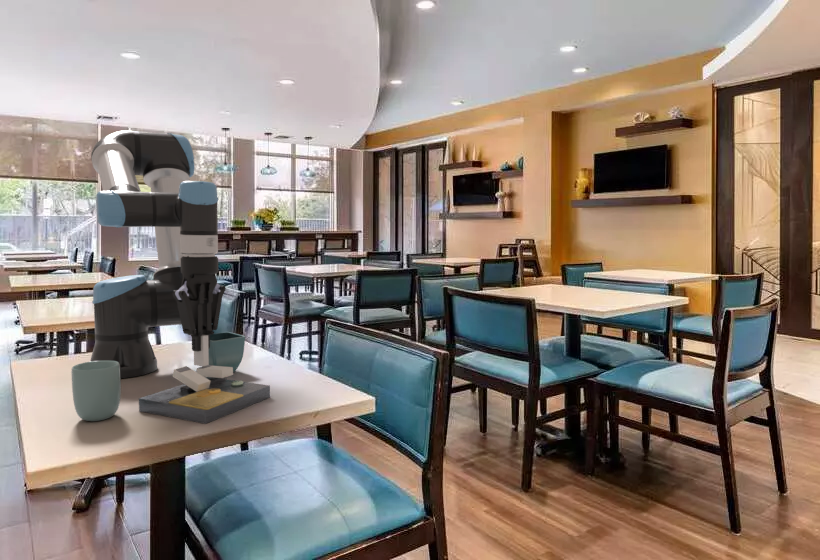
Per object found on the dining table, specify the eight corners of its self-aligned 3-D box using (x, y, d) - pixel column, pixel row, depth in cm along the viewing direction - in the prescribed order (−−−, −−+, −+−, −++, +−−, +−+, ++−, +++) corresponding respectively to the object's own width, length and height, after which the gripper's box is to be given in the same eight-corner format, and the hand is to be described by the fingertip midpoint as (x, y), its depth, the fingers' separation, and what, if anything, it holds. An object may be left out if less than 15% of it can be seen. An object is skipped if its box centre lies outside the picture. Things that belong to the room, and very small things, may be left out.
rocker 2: (197, 375, 123) (196, 367, 123) (208, 372, 126) (207, 364, 126) (222, 378, 120) (221, 369, 120) (233, 374, 123) (232, 366, 123)
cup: (86, 411, 111) (83, 360, 110) (128, 410, 112) (126, 359, 111) (66, 425, 104) (62, 370, 103) (111, 424, 104) (108, 369, 103)
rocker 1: (172, 376, 117) (174, 368, 117) (184, 372, 120) (186, 365, 120) (196, 391, 115) (198, 384, 114) (208, 387, 118) (210, 380, 117)
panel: (139, 411, 112) (138, 394, 111) (208, 387, 128) (207, 373, 127) (206, 423, 104) (206, 406, 104) (271, 397, 120) (270, 381, 120)
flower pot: (247, 371, 142) (246, 335, 141) (213, 378, 136) (212, 340, 135) (228, 366, 148) (227, 331, 147) (196, 372, 142) (194, 336, 141)
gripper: (188, 257, 115) (190, 373, 117) (234, 254, 127) (236, 360, 129) (161, 255, 118) (164, 369, 120) (208, 253, 130) (210, 357, 132)
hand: (201, 364), depth 125 cm, fingers closed
